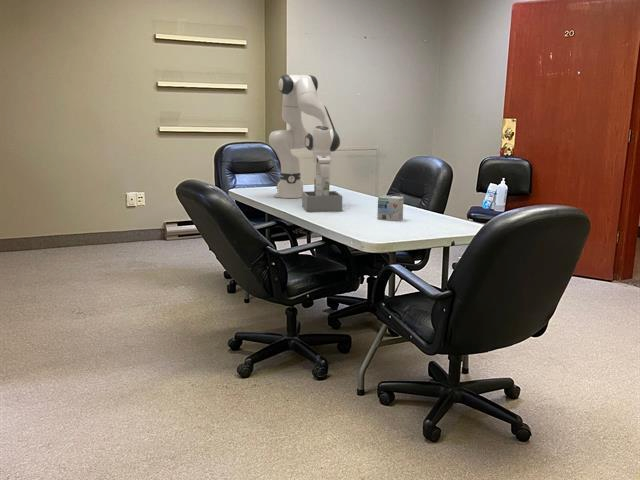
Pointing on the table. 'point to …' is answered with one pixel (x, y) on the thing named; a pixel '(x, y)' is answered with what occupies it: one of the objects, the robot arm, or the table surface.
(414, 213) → the table surface
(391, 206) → the light bulb box
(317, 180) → the syrup box
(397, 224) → the table surface
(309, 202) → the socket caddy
